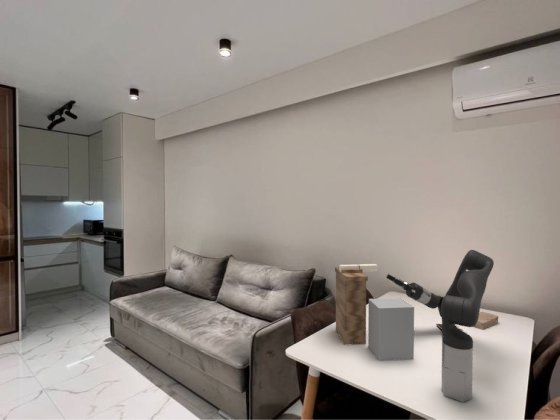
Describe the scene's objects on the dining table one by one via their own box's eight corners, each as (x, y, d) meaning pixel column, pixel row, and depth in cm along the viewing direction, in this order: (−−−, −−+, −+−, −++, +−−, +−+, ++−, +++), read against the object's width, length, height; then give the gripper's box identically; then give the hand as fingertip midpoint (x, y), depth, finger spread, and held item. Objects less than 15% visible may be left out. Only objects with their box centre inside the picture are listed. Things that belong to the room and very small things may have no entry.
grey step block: (400, 345, 142) (400, 297, 141) (413, 359, 130) (414, 307, 129) (368, 347, 141) (368, 298, 140) (378, 360, 129) (379, 308, 128)
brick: (482, 330, 158) (483, 321, 158) (466, 325, 165) (466, 316, 165) (498, 324, 166) (499, 315, 166) (482, 319, 174) (482, 310, 173)
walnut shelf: (353, 327, 162) (353, 263, 161) (367, 345, 142) (367, 273, 141) (334, 328, 161) (334, 264, 160) (346, 346, 141) (346, 273, 140)
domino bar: (375, 270, 153) (375, 263, 153) (377, 271, 150) (377, 265, 150) (339, 271, 151) (339, 264, 151) (340, 272, 148) (340, 266, 148)
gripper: (414, 282, 160) (388, 268, 159) (430, 291, 146) (401, 275, 145) (407, 295, 160) (381, 280, 159) (422, 305, 146) (393, 289, 145)
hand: (390, 278), depth 152 cm, fingers open, 8 cm apart
